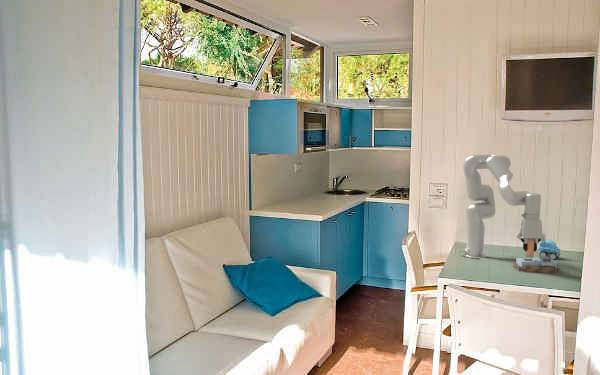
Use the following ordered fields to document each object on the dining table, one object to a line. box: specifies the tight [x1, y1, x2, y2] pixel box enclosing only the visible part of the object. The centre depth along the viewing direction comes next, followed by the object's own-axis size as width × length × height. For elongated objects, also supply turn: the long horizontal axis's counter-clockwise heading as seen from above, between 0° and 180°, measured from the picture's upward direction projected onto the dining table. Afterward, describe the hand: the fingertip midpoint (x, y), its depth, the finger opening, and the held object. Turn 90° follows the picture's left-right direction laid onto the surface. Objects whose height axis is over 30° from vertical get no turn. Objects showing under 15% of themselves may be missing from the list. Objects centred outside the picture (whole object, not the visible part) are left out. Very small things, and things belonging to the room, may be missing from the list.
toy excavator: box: [538, 231, 561, 261], centre depth 317 cm, size 9×17×17 cm, turn 51°
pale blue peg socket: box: [515, 255, 558, 271], centre depth 283 cm, size 18×14×7 cm
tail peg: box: [524, 239, 535, 258], centre depth 282 cm, size 4×4×10 cm
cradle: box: [512, 262, 562, 275], centre depth 284 cm, size 21×13×4 cm, turn 86°
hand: (529, 250), depth 282 cm, fingers closed on tail peg, 4 cm apart
